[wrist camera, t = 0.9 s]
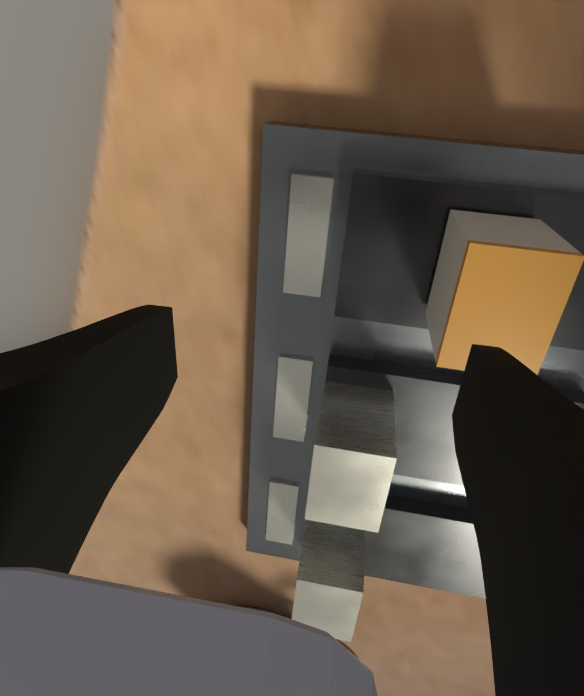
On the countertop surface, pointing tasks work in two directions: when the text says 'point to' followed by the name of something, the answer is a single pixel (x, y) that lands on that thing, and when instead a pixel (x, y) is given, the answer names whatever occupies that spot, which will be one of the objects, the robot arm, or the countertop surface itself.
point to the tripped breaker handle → (499, 287)
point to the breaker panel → (377, 354)
